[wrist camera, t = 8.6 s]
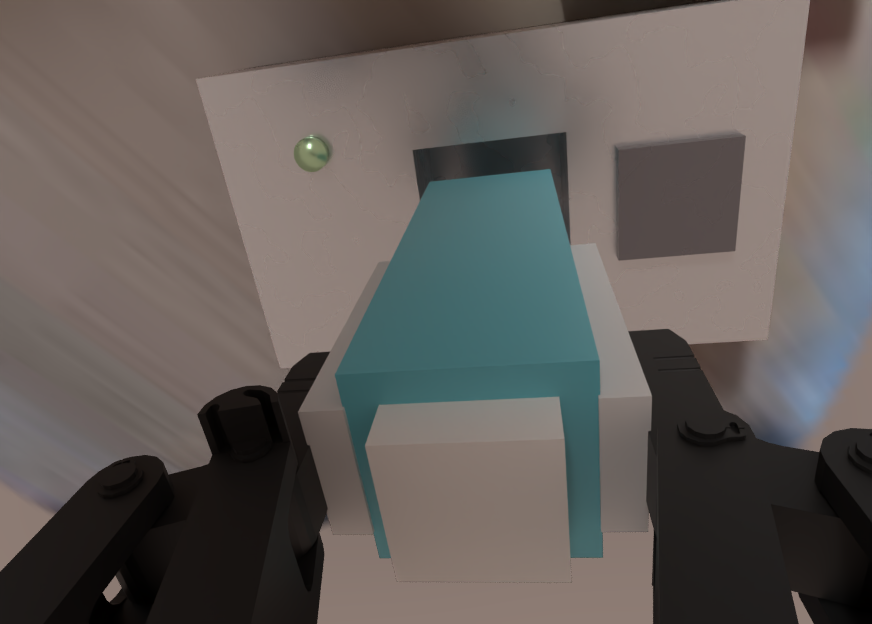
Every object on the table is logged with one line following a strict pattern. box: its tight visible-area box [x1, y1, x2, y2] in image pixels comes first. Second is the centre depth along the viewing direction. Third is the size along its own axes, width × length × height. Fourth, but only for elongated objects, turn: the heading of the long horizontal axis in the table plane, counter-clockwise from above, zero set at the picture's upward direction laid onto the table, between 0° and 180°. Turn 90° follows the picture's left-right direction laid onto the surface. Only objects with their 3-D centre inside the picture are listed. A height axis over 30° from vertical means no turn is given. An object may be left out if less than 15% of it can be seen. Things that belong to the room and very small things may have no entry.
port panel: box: [196, 0, 810, 368], centre depth 24 cm, size 20×12×6 cm, turn 98°
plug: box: [335, 169, 603, 583], centre depth 15 cm, size 4×4×13 cm
